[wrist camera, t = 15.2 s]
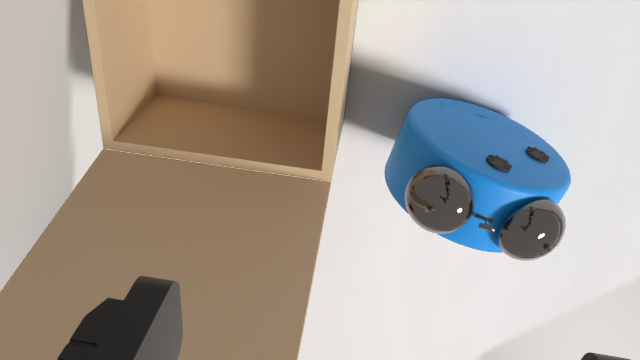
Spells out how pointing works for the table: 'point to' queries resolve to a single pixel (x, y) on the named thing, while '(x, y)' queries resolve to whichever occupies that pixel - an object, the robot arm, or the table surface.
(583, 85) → the table surface
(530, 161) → the alarm clock
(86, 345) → the robot arm
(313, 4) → the carton
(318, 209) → the carton flap
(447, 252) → the table surface
